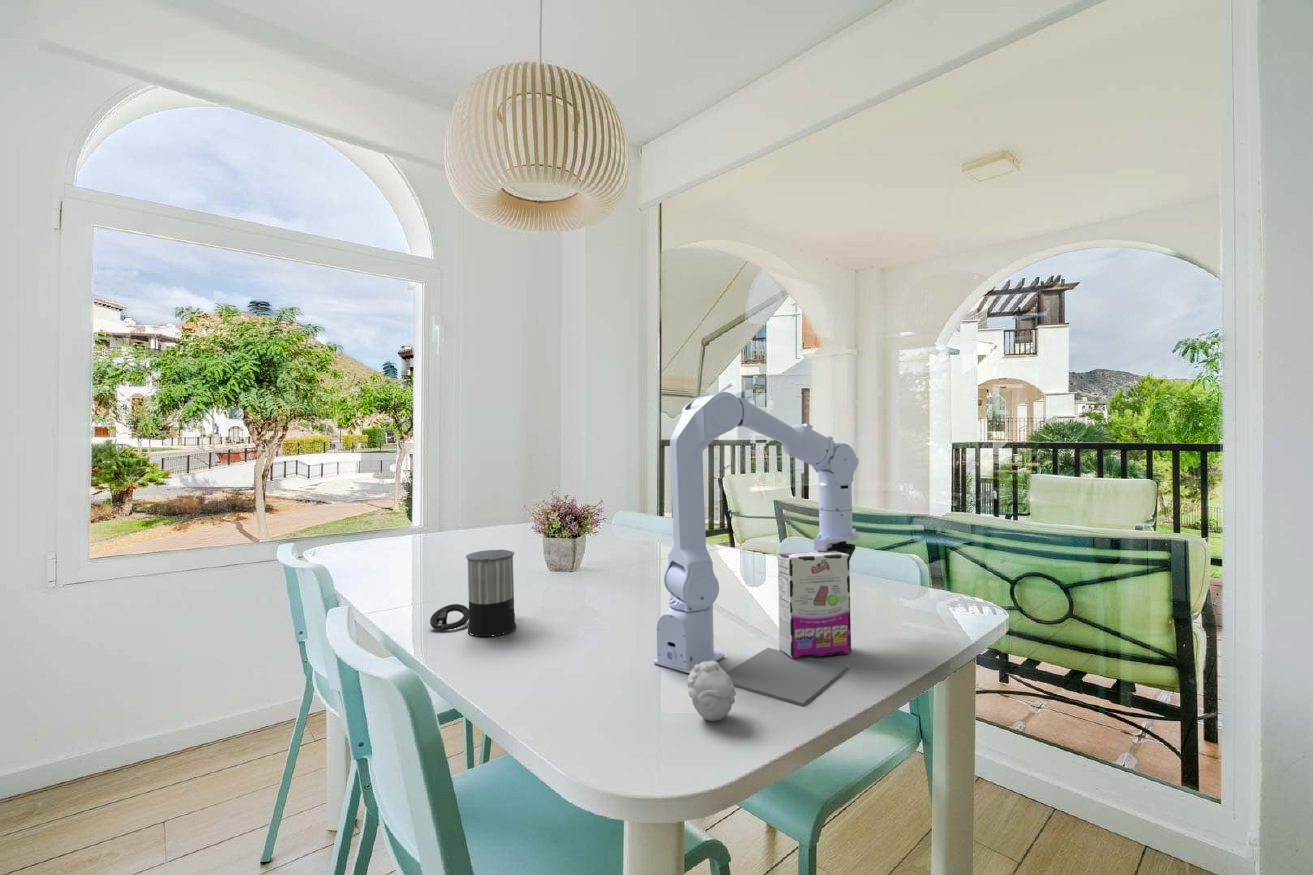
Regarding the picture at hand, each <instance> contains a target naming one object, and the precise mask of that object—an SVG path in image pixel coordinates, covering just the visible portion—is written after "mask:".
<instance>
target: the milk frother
mask: <svg viewBox="0 0 1313 875" xmlns="http://www.w3.org/2000/svg"><path fill="white" fill-rule="evenodd" d="M514 555H515V552H514V551H512V550H507V549H488V550H480V551H475V552H471V553H468V554H466V556H465V558H466V560H467V582H468V583H467V585H468V586H467V587H468V592H467V593H468V607H467V606H466V605H463V604H459V603H452V604H448V605H446V606H443V607H441V608H439V609H437V610H436V611H435V612H434V613H433V614H432V615H431V617H430V619H429V624H430V626H431V628H433V629H434V630H435V629H436V630H438V629H452V630H455V629H454V628H456V629H458V627H459V628H461V627H462V626H464V625H466V624H467V622H468V628H467V629H468V632H467V634H469V633H471V634H473V635H477V636H476V637H478V636H492V635H498V636H500V635H499V634H503V633H506V634H508V632H509V633H511V632H513V631H515V629H516V628H517V623H516V615H515V614H516V613H515V588H514V587H515V586H514V558H513V557H514ZM450 612H459V613H461V614H462V616H463V617H462V618H460V619H459V620H457V621H456V622H452V623H447V622H448V614H449V613H450ZM512 630H513V631H512ZM473 635H472V636H473ZM503 635H504V634H503ZM492 637H493V636H492Z"/></svg>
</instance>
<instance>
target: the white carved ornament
mask: <svg viewBox="0 0 1313 875" xmlns="http://www.w3.org/2000/svg"><path fill="white" fill-rule="evenodd" d="M726 672H727V671H724V668H722V667H721V665H720V663H719V662H718V661H708V662H706V661H705V662H701V663H700V664H699V665H698V664H697V665H695V667H694V668H693V669H692V671H691V672H690V673H689V674H688V677H687V687H688V696H689V697H690V698H691V702H692V705H693V707H694V709H695V710H696V712H697V713H698V715H699V716H701V718H703V719H705V720H707V721H710V722H717V721H721V720H723V719H724V718H726V717H727V716H728V715H729V713H730V711H731V709H732V706H733V704H735V702H736V700H735V697H736V695H737V692H736V687H735V686H734V685H733V684H732V681H731V678H730V677H729V675H728V674H727V673H726Z"/></svg>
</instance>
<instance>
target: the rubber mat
mask: <svg viewBox="0 0 1313 875" xmlns="http://www.w3.org/2000/svg"><path fill="white" fill-rule="evenodd" d="M847 670H849V666H848V665H845V664H841V663H836V662H832V661H827V660H824V659H823V660H822V659H818V658H815V657H805V658H795V659H793V658H791V657H789V656H788V655H786V654H785V653H783V652H782V651H780V649H775V648H771V647H766V648H765V649H763V650H761V651H760V652H758V653H756V654H755V655H753V656H751V657H749V658H748V659H746V660H745V661H743V662H741V663H740V664H738V665H736V666H735V667H732V668H731V669H729V670H728V671H725V672H726V673H727V674H728V675H729V677H730V678H731V681H732V684H733V685H734V688H739V689H741V690H742V689H743V690H745V691H749V692H753V693H756V694H759V695H762V696H765V697H766V696H767V697H769V698H774V699H776V700H781V701H784V702H788V703H789V704H790V703H791V704H793V705H797V706H802V707H804V706H805V705H807V704H808V703H809V702H810V701H811V700H813V699H814V698H815V697H816V696H818V695H819V694H820V693H821V692H822V691H823V690H824V689H826V688H827V687H829V685H830V684H832V683H833V682H834V681H836V680H837V679H838V678H839V677H840V676H842V674H844V673H845V672H846V671H847Z"/></svg>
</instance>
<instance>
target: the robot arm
mask: <svg viewBox="0 0 1313 875" xmlns="http://www.w3.org/2000/svg"><path fill="white" fill-rule="evenodd" d="M736 427H744V428H747V429H748V430H751V431H754V432H756V433H758V434H761V435H763V436H765V437H767V438H770V439H772V440H774V441H776V442H778V443H781V446H782V449H783V451H784V452H785V454H788V455H790V456H791V457H794V458H796V459H797V460H799V461H801V462H804V463H806V464H807V465H810V466H811V467H812V468H813V470H814V471H815V472H816V473H818V476H817V478H818V479H817V480H818V516H819V518H818V520H819V526H818V527H819V532H818V534H817V535H816V538H814V539H813V550H814V551H817V552H819V551H838V552H842V553H845V554H849V562H850V561H851V558H852V556H853V554H854V552H855V551H856V544H854V543H853V544H852V543H847V542H849V541H857V540H860V534H857V529H856V528H853V496H852V494H853V493H852V492H853V491H852V490H853V489H852V488H853V486H852V484H853V482H854V474H855V471H856V470H857V468H858V467H859V466H858V465H859V462H860V461H859V458H858V457H857V455H856V452H855V450H854V449H853V448H852V446H850V445H849V444H847V443H841V442H840V443H839V442H835V441H834V439H833V438H834V437H833V436H830V435H824V434H822V433H820V432H818V431H815V430H814V429H813V425H811V424H810V423H802V424H801V423H797V424H794V425H792V426H791V425H790V424H789V425H788V424H787V423H786V422H784V421H782V420H780V419H778V418H777V417H775V416H773V415H771V414H770V413H768V412H766V411H765V410H763V409H761V408H760V407H758V406H756V405H754V404H753V403H751V402H749V401H748V400H747V399H745V398H743V397H739V396H738V397H737V396H736V395H735V394H733V393H731V392H727V391H722V392H717V393H715V394H710V395H709V394H708V395H700V396H697V397H695V398H693V399H692V400H691V401H690V402H688V403H687V404H686V405H685V406H684V407H683V408H682V412H681V416H680V419H679V420H678V423H677V424H676V427H675V429H674V431H673V433H672V434H671V435H670V436H671V437H670V440H669V452H670V453H669V454H670V478H671V479H670V480H671V504H672V505H671V507H672V509H671V510H672V532H673V547H672V548H671V550H670V552H669V553H668V555H667V556H668V557H667V558H668V560H667V561H668V562H667V566H666V570H665V572H664V573H663V583H664V586H665V588H666V590H667V591H668V592H669V593H670V596H669V598H668V599H669V601H668V609H667V611H666V612H665V613H664V614H663V615H661V617H659V619H658V621H657V624H656V655H657V656H656V657H657V658H655V659H653V662H652V663H653V664H654V665H658V666H659V665H660V666H663V667H666V668H670V669H673V670H676V671H679V672H682V673H687V674H690V672H691V671H692V669H693V668H694V667H695V665H697V664H698V665H699V664H700V663H701V662H705V661H706V662H708V661H716V662H718V661H719V660H721V659H723V658H724V657H725V653H724V652H720V651H717V650H715V641H714V638H715V637H714V636H715V635H714V605H713V604H714V603H715V602H716V600H717V598H718V596H719V592H720V585H719V580H718V578H717V577H716V575H715V571H714V565H713V564H714V563H713V560H712V558H711V555H710V553H709V551H708V549H707V542H706V541H707V540H706V538H707V536H706V535H707V534H706V511H705V509H706V508H705V507H706V506H705V486H704V484H705V482H704V463H703V462H704V459H703V458H704V457H703V452H704V450H705V449H706V448H707V447H708V446H709V445H711V444H712V443H713V441H715V439H716V438H718V437H720V436H723V435H724V434H726V433H728V432H730V431H733V430H734V429H735V428H736Z"/></svg>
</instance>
